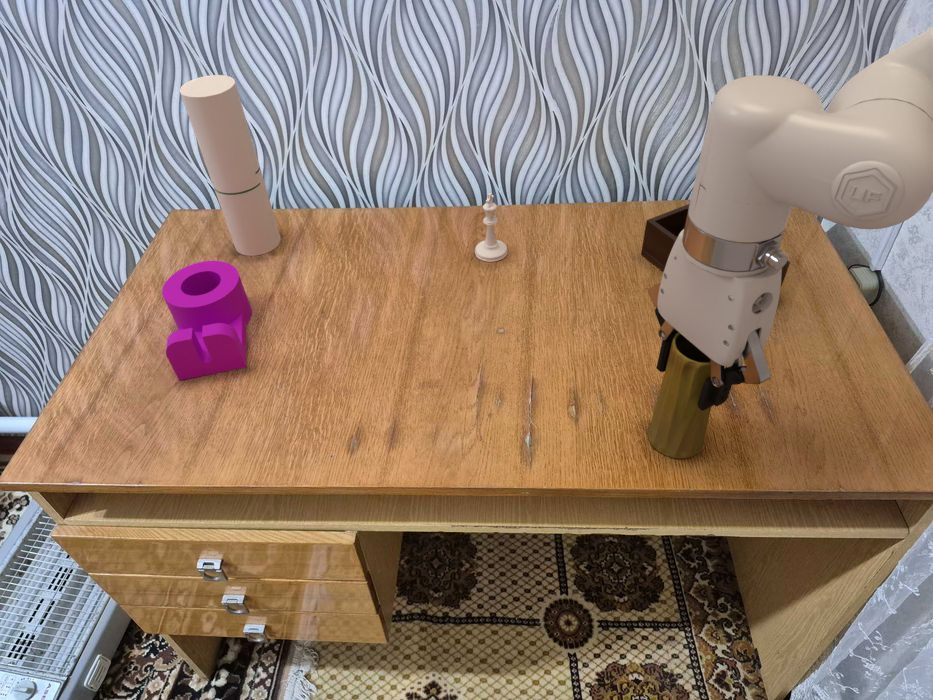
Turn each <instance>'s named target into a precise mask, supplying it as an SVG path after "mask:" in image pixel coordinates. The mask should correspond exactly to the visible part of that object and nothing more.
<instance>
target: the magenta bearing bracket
mask: <svg viewBox="0 0 933 700" xmlns="http://www.w3.org/2000/svg"><path fill="white" fill-rule="evenodd" d="M161 295H162V297H163V299H164V301H165V304H166V305H167V308H168V310H169V311H170V314H171V316H172V318H173V320H174V322H175V325H176V326H177V330H176V331H173V332H171V333H170V334H169V335H168V336H167V340H166V347H165V356H166V358H167V360H168V362H169V364H170V366H171V368H172V370H173V372H174V373H175V376H176V378H177V380H178V381H185V380H190V379H195V378H200V377H204V376H210V375H214V374H215V375H216V374H220V373H224V372H230V371H234V370H240V369H245V368H247V325H248V324H249V322H250V320H251V318H252V314H253V310H252V306H251V303H250V301H249V298H248V295H247V293H246V290H245V286H244V285H243V281H242V279H241V276H240V273H239V271H238V269H237V268H236V266H234V265H233V264H231V263H229V262H226V261H221V260H205V261H199V262H195V263H192V264H189V265H186V266H185V267H182V268H181V269H179V270H176V272H174V273H173V274H171V275H170V276H169V278H167V280H166V281H165V283H164V284H163V286H162V289H161Z"/></svg>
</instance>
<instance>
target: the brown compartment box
mask: <svg viewBox="0 0 933 700" xmlns="http://www.w3.org/2000/svg"><path fill="white" fill-rule="evenodd" d="M689 205H690V203H688V204H685V205H683V206H680V207H677V208H675V209H672V210H669V211H667V212H664V213H662V214H659V215H656V216H654V217H651V218H649V219H646V223H645V228H644V233H643V234H644V235H643V240H642V245H641V252H640V255H641V256H642V257H644V258H645V260H647V261H649V262H650V263H651V264H652V265H654V266H655V267H656V268H658V269H659V270H660V271H661V272H663V273H664V269H665V266H666V263H667V260H668V258H669V255H670V252H671V250H672V248H673V246H674V243H675V241H676V239H677V238H678V236H679V234H680V232H681V231H682V230H683V229H684V228H685V223H686V219H687V214H688V209H689ZM790 264H791V262H790V261H789V259H788V260H787V262H786V264H785V265H784V266H783V267H782V277H781V288H780V290H781V289H782V286H783V284H784V281H785V278H786V275H787V274H788V273H787V272H788V270H789V267H790Z"/></svg>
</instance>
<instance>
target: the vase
mask: <svg viewBox="0 0 933 700" xmlns="http://www.w3.org/2000/svg"><path fill="white" fill-rule="evenodd" d="M724 368H726V366H724ZM663 373H664V374H663V377H662V381H661V383H660V384H661V385H660V388H659V391H658V396H657V398H656V402H655V406H654V409H653V413H652V417H651V421H650V423H649V425H648V428H647V438H648V441H649V443H650V444H651V446H652V447H653V448H654V449H655V450H656V451H658V452H659V453H660V454H662V455H664V456H666V457H669V458H673V459H679V460H680V459H681V460H682V459H689V458H692V457H694V456H696V455H698V454H699V453H700V452H701V451H702V450H703V448H704V445H705V443H706V435H707V431H708V430H707V429H708V426H709V421H710V420H709V419H710V416H711V415H710V414H711V412H712V411H711V410H712V407H710V408H708V409H706V410H704V411H702V410H701V409H699V408H698V401H699V398H700V394H701V391H702V387H703V384H704V381H705V380H706V379H708V378H710V377H711V366H710V358H709V357H708V356H707V355H705V354H704V353H703V352H702V351H701V350H699V349H698V348H697V347H696V346H695V345H693V344H692V343H691V342H690V341H689V340H687V339H686V338H685V337H684V336H683V335H682V334H680V333H679V332H678V333H677V334H676V335H675V336H674V338H673V341H672V345H671V349H670V354H669V358H668V362H667V366H666V370H665V372H663Z"/></svg>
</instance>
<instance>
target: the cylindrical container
mask: <svg viewBox="0 0 933 700" xmlns="http://www.w3.org/2000/svg"><path fill="white" fill-rule="evenodd" d="M179 93H180V96H181V99H182V101H183V104H184V107H185V110H186V113H187V116H188V119H189V121H190V124H191V127H192V130H193V133H194V135H195V138H196V141H197V144H198V147H199V150H200V153H201V155H202V158H203V161H204V164H205V167H206V170H207V172H208V175H209V178H210V181H211V183H212V187H213V190H214V193H215V195H216V197H217V201H218V203H219V206H220V209H221V212H222V215H223V218H224V220H225V223H226V226H227V228H228V232H229V235H230V237H231V240H232V243H233V246H234V248H235V251H236V252H237V253H239V254H240V255H243V256H247V257H256V256H261V255H265V254H267V253H270V252H272V251H273V250H275V249H276V248H277V247H278V246H279V245H280V243H281V241H282V238H281V233H280V231H279V227H278V224H277V219H276V216H275V213H274V210H273V207H272V203H271V200H270V196H269V192H268V189H267V186H266V183H265V180H264V176H263V172H262V170H261V166H260V163H259V158H258V156H257V153H256V149H255V146H254V141H253V138H252V135H251V132H250V131H251V130H250V128H249V125H248V122H247V118H246V115H245V112H244V108H243V105H242V101H241V97H240V94H239V91H238V87H237V84H236V81H235V78H233V77H232V76H230V75H225V74H211V75H204V76H200V77H197V78H193V79H191V80H189V81H187V82H185V83H183V84H182V85H181V86H180V88H179Z"/></svg>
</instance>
